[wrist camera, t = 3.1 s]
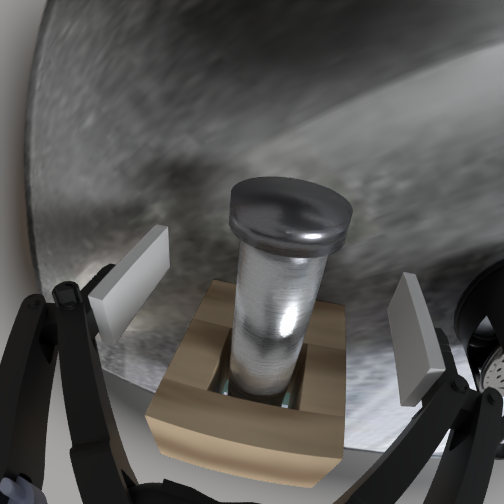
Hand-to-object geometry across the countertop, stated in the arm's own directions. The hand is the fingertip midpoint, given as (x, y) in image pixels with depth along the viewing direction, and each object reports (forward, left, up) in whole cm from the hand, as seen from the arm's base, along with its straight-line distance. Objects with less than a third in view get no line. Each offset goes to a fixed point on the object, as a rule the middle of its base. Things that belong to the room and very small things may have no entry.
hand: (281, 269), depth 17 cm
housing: (+8, 0, -4) cm, 9 cm away
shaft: (+5, 0, 0) cm, 5 cm away
